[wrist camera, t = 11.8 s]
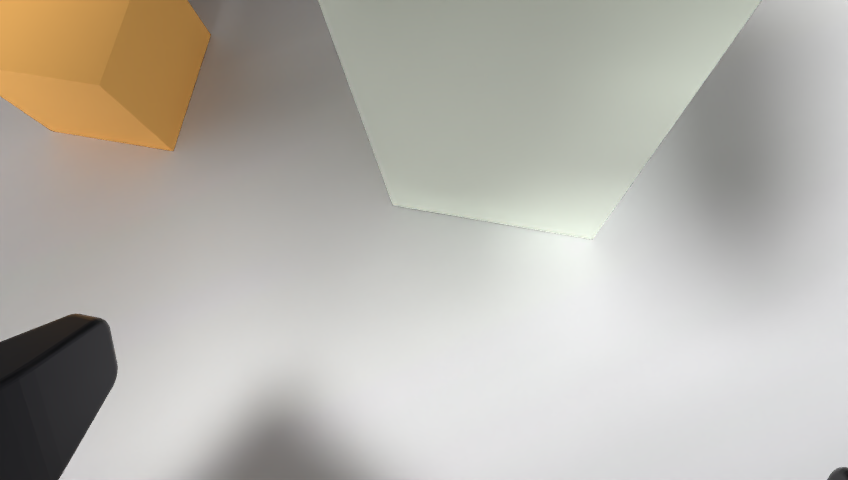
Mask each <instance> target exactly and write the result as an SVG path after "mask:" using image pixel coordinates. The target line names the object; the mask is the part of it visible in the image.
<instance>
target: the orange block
mask: <svg viewBox="0 0 848 480" xmlns="http://www.w3.org/2000/svg"><path fill="white" fill-rule="evenodd" d="M210 36H211V34H210V33H209V31H208V30H207V28H206V27H205V25H204V24H203V23H202V21H201V20H200V18H199V17H198V15H197V14H196V12H195V11H194V9H193V8H192V6H191V5H190V3H189V2H188V1H187V0H0V96H1V97H2V98H4V99H5V100H7V101H8V102H10V103H11V104H13V105H14V106H15V107H17V108H18V109H20V110H21V111H23V112H24V113H26V114H27V115H29V116H30V117H32V118H33V119H35V120H36V121H38V122H39V123H41V124H42V125H43V126H45V127H46V128H48V129H49V130H51V131H55V132H61V133H67V134H73V135H79V136H85V137H91V138H97V139H103V140H109V141H115V142H121V143H127V144H133V145H139V146H145V147H151V148H157V149H163V150H169V151H174V148H175V145H176V142H177V139H178V135H179V132H180V129H181V126H182V123H183V120H184V117H185V114H186V111H187V108H188V104H189V101H190V98H191V95H192V92H193V89H194V86H195V83H196V80H197V77H198V73H199V70H200V67H201V64H202V61H203V58H204V55H205V52H206V49H207V46H208V42H209V39H210Z"/></svg>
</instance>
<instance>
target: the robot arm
mask: <svg viewBox="0 0 848 480" xmlns="http://www.w3.org/2000/svg"><path fill="white" fill-rule="evenodd" d="M117 369H118V366H117V360H116V355H115V350H114V345H113V341H112V336H111V331H110V327H109V325H108V323H107V322H106V321H105V320H103V319H101V318H97V317H92V316H87V315H82V314H71V315H68V316H66V317H63V318H60V319H58V320H55V321H53V322H50V323H48V324H45V325H43V326H40V327H38V328H35V329H32V330H30V331H27V332H25V333H22V334H20V335H17V336H15V337H12V338H9V339H7V340H4V341H2V342H0V480H59V478H60V476H61V475H62V473H63V471H64V470H65V468H66V466H67V465H68V463H69V461H70V459H71V458H72V456H73V454H74V453H75V451H76V449H77V447H78V446H79V444H80V442H81V440H82V439H83V437H84V435H85V434H86V432H87V430H88V428H89V427H90V425H91V423H92V421H93V420H94V418H95V416H96V415H97V413H98V411H99V409H100V408H101V406H102V404H103V402H104V401H105V399H106V397H107V396H108V394H109V392H110V390H111V389H112V387H113V385H114V383H115V380H116V377H117ZM827 480H848V468H847V467H840V468H837V469H836V470H834V471H833V472H832V473H831V474H830V476H829V478H828V479H827Z"/></svg>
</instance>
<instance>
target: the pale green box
mask: <svg viewBox="0 0 848 480" xmlns="http://www.w3.org/2000/svg"><path fill="white" fill-rule="evenodd" d="M761 1H762V0H318V2H319V5H320V8H321V10H322V13H323V16H324V18H325V21H326V24H327V27H328V29H329V32H330V35H331V38H332V40H333V43H334V46H335V49H336V51H337V54H338V57H339V60H340V62H341V65H342V68H343V71H344V73H345V76H346V79H347V81H348V84H349V87H350V90H351V92H352V95H353V98H354V101H355V103H356V106H357V109H358V112H359V114H360V117H361V120H362V123H363V125H364V128H365V131H366V133H367V136H368V139H369V142H370V144H371V147H372V150H373V153H374V155H375V158H376V161H377V164H378V166H379V169H380V172H381V175H382V177H383V180H384V183H385V185H386V188H387V191H388V194H389V196H390V199H391V202H392V205H393V206H399V207H405V208H411V209H417V210H423V211H428V212H434V213H440V214H446V215H452V216H458V217H463V218H469V219H475V220H481V221H487V222H493V223H498V224H504V225H510V226H516V227H522V228H528V229H533V230H539V231H545V232H551V233H557V234H563V235H568V236H574V237H580V238H586V239H592V240H593V238H594V237H595V236H596V234H597V233H598V231H599V230H600V228H601V227H602V226H603V224H604V223H605V221H606V220H607V219H608V217H609V216H610V214H611V213H612V212H613V210H614V209H615V207H616V206H617V204H618V203H619V202H620V200H621V199H622V197H623V196H624V195H625V193H626V192H627V190H628V189H629V188H630V186H631V185H632V183H633V182H634V180H635V179H636V178H637V176H638V175H639V173H640V172H641V171H642V169H643V168H644V166H645V165H646V163H647V162H648V161H649V159H650V158H651V156H652V155H653V154H654V152H655V151H656V149H657V148H658V147H659V145H660V144H661V142H662V141H663V139H664V138H665V137H666V135H667V134H668V132H669V131H670V130H671V128H672V127H673V125H674V124H675V123H676V121H677V120H678V118H679V117H680V115H681V114H682V113H683V111H684V110H685V108H686V107H687V106H688V104H689V103H690V101H691V100H692V98H693V97H694V96H695V94H696V93H697V91H698V90H699V89H700V87H701V86H702V84H703V83H704V82H705V80H706V79H707V77H708V76H709V74H710V73H711V72H712V70H713V69H714V67H715V66H716V65H717V63H718V62H719V60H720V59H721V58H722V56H723V55H724V53H725V52H726V50H727V49H728V48H729V46H730V45H731V43H732V42H733V41H734V39H735V38H736V36H737V35H738V33H739V32H740V31H741V29H742V28H743V26H744V25H745V24H746V22H747V21H748V19H749V18H750V17H751V15H752V14H753V12H754V11H755V9H756V8H757V7H758V5H759V4H760V2H761Z"/></svg>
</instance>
